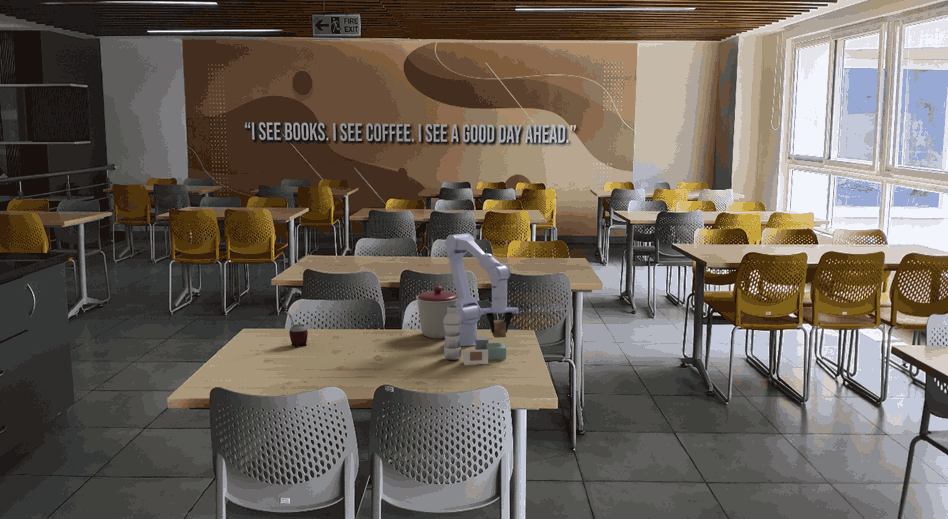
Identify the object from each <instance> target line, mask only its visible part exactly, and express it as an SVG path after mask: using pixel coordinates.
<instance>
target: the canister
mask: <svg viewBox="0 0 948 519" xmlns="http://www.w3.org/2000/svg"><path fill="white" fill-rule="evenodd" d="M415 300H417V305H418V308H417V309H418V316H419V321H420V322H419V323H420V329H421V332H422V334H423V336H425V337H427V338H430V339H445V329H444V323H443V320H444V317H445V316H446V315H447V313H448V312H447V307H448V306H454V304H455V303H456V302H457V300H458V296H457V293H455V292H453V291H449V290H443V287H442V286H441V285H435V286H434V287H433V290H428V291H423V292H421V293H419V294H418V295H416V297H415Z"/></svg>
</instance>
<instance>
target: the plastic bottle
mask: <svg viewBox="0 0 948 519" xmlns="http://www.w3.org/2000/svg"><path fill="white" fill-rule="evenodd" d="M447 312H448V313H447V315H446V316H445V317H444V320H443V323H444V329H445V338H444V347H443V357H444V359H446V360H448V361H450V360H451V361H455V360H459V359H460V358H461V357H462V353H463V352H462V346H460V326H461V319H460V317H459V315H458V314H457V312H458V310H457V306H448V307H447Z"/></svg>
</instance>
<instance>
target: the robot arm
mask: <svg viewBox="0 0 948 519" xmlns="http://www.w3.org/2000/svg"><path fill="white" fill-rule="evenodd" d="M444 246H445V250H446V254H447V257H448V258H447V259H448V261H449V267H450V271H451V275H452V278H453V279H452V280H453V283H454V288H455V292H456V294H457V296H458V300H457V302H456V303H455V304H454V306H457V310H458V312H457V314H458V315H459V317H460V319H461V326H460V347H468V346H469V347H470V346H471V347H472V346H474V347H475V337H478V322H479V319H480V318H481V316H483V315H486V317H487V320H488V322H489V326H490V331H491V333H492V334H493V333H494V320H495V316H494V315H497V314H498V315H499V314H503V316H504V317H503V318H504V321H505V322H506V334H507V333H508V329H509V325H510V323H511V321H512V319H513V317H514V316H513V315H514V314H516V315H517V314H519V312H520V311H519V308H518V307H511V306H508V280H509V279H510V278H511V274H512V273H511V269H510V266H508V265H507V264H505V263H504V264H503V263H500V261H498V260H497V259H496V258H495V257H494V256H493V254H492V253H485V252H484V250H482V248H481V247H480V246H479V245H478V244H477V243H476V242H475V238H474V237H473V235H472V234H471V233H469V232H465V233H459V234H458V233H457V234H449V235H448V236H447V237H446V239H445V242H444ZM467 253H469V254H471V255H472V256H473V257H474V258H475V259H477V260H478V265H479V266H480V267H481V268H482V269H483V270H485V272H487V274H488V278H489V280H490V285H491V306H490V307H485V308H483V307H482V308H481V307H480V305H479V302H478V300H477V299H476V298H474V297H473V296H472V294H471V289H470V285H469V281H468V278H467V277H468V276H467V272H466V269H465V264H464V261H463V258H464V256H465V255H466V254H467Z"/></svg>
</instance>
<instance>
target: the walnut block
mask: <svg viewBox="0 0 948 519" xmlns="http://www.w3.org/2000/svg"><path fill="white" fill-rule="evenodd" d="M492 336H493V338H494V339H495V338H507V333H506V322H505V319H496V320H495V319H494V333H492Z"/></svg>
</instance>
